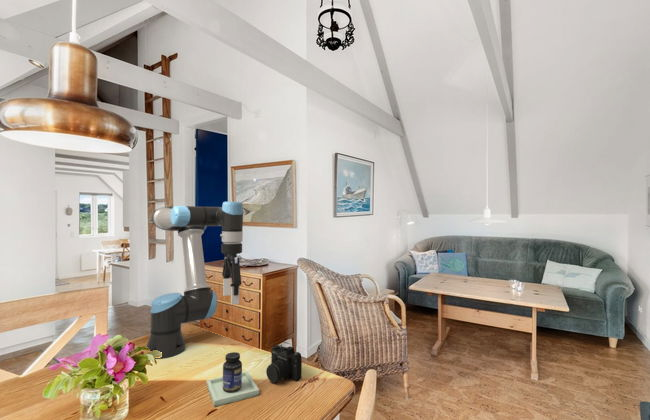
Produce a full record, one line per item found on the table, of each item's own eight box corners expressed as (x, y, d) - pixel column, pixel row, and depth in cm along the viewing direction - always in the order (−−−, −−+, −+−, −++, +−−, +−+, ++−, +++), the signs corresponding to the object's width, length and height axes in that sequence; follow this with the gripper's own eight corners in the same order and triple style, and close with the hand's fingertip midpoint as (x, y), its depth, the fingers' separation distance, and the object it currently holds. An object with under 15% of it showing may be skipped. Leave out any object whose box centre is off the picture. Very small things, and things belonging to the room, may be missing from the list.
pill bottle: (236, 394, 104) (236, 360, 104) (218, 392, 105) (219, 358, 105) (244, 384, 110) (245, 352, 110) (228, 382, 111) (228, 350, 111)
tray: (206, 385, 110) (206, 379, 110) (247, 375, 117) (247, 370, 117) (214, 406, 98) (214, 401, 98) (258, 395, 105) (259, 389, 105)
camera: (256, 376, 117) (256, 348, 117) (278, 366, 125) (278, 340, 125) (282, 390, 108) (283, 360, 108) (304, 378, 116) (304, 350, 116)
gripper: (215, 240, 130) (214, 293, 130) (229, 246, 108) (227, 309, 108) (234, 239, 134) (233, 291, 133) (251, 245, 112) (249, 306, 112)
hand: (230, 299), depth 121 cm, fingers open, 13 cm apart
